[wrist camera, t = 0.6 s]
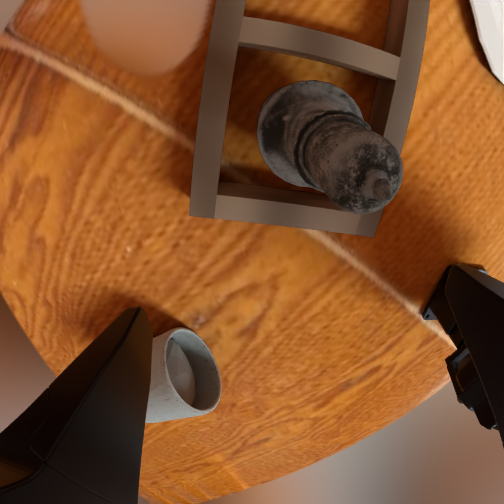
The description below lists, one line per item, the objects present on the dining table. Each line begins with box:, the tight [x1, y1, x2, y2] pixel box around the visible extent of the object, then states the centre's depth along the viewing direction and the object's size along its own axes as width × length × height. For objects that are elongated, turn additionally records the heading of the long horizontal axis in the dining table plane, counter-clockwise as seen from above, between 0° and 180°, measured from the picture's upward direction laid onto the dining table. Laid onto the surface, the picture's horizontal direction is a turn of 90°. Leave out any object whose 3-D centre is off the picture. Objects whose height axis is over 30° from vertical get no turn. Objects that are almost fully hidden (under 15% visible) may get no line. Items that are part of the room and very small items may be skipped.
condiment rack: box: [189, 0, 430, 237], centre depth 14 cm, size 12×22×2 cm, turn 171°
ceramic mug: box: [145, 327, 221, 423], centre depth 25 cm, size 11×8×8 cm
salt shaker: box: [257, 80, 403, 215], centre depth 13 cm, size 6×6×12 cm
